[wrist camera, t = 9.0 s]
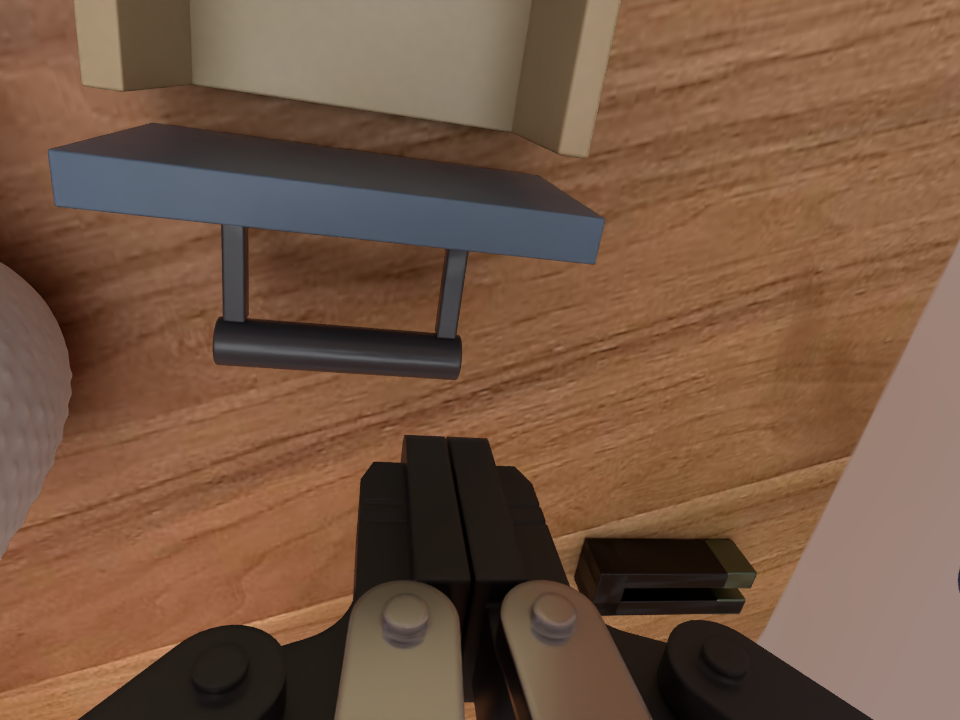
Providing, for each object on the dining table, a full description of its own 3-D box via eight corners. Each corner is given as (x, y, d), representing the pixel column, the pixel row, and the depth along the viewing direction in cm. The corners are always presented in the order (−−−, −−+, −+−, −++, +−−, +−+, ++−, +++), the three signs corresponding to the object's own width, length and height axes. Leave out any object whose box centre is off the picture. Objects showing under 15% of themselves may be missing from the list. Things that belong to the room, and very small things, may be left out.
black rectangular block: (731, 539, 32) (757, 573, 30) (716, 578, 33) (740, 614, 31) (585, 537, 30) (601, 573, 28) (573, 579, 31) (588, 617, 29)
